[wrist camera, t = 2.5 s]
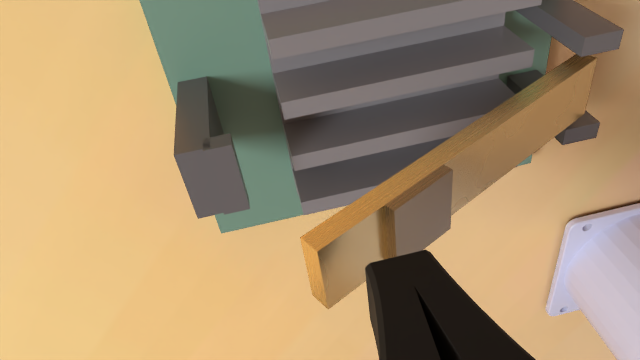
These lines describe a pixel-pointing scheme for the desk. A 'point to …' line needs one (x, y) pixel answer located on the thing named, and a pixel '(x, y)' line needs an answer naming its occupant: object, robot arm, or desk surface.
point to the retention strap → (442, 182)
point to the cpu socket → (343, 90)
